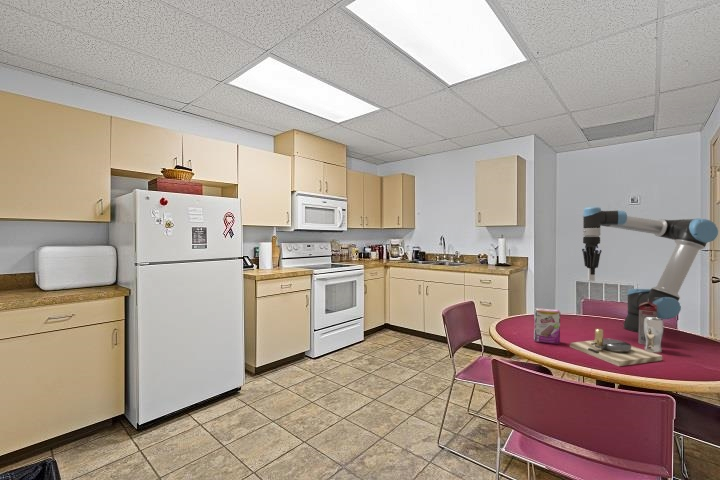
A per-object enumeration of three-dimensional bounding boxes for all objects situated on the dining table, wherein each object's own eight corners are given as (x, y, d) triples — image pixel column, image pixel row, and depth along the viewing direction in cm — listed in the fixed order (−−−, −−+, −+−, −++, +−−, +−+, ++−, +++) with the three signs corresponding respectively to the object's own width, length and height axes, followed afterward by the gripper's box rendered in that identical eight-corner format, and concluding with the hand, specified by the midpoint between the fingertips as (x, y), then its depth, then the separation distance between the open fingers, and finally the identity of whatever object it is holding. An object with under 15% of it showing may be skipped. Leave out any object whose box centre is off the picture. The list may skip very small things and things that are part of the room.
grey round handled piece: (612, 342, 161) (612, 323, 161) (638, 351, 150) (638, 331, 149) (580, 346, 158) (580, 326, 157) (603, 355, 146) (604, 334, 146)
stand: (609, 342, 169) (609, 337, 169) (662, 360, 146) (662, 354, 145) (569, 347, 163) (569, 341, 163) (618, 366, 140) (618, 359, 140)
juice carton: (638, 343, 167) (639, 299, 166) (639, 340, 172) (640, 297, 171) (656, 346, 162) (657, 301, 162) (656, 343, 167) (657, 299, 167)
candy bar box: (535, 342, 170) (535, 310, 169) (533, 339, 175) (533, 307, 174) (560, 344, 166) (560, 311, 166) (558, 341, 171) (558, 309, 170)
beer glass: (666, 353, 153) (667, 320, 153) (649, 352, 155) (649, 320, 154) (656, 348, 160) (657, 316, 160) (639, 347, 162) (640, 316, 161)
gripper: (577, 236, 186) (576, 278, 187) (591, 236, 173) (591, 282, 174) (591, 236, 186) (590, 278, 186) (607, 236, 173) (606, 282, 173)
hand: (591, 280), depth 180 cm, fingers closed
